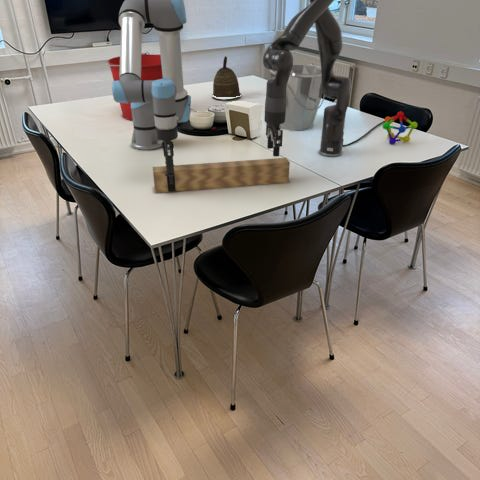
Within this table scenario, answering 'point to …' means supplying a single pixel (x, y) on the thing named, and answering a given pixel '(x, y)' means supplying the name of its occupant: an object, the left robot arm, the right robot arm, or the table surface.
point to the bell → (225, 82)
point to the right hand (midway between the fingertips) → (273, 152)
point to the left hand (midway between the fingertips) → (171, 187)
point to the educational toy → (398, 128)
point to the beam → (223, 174)
